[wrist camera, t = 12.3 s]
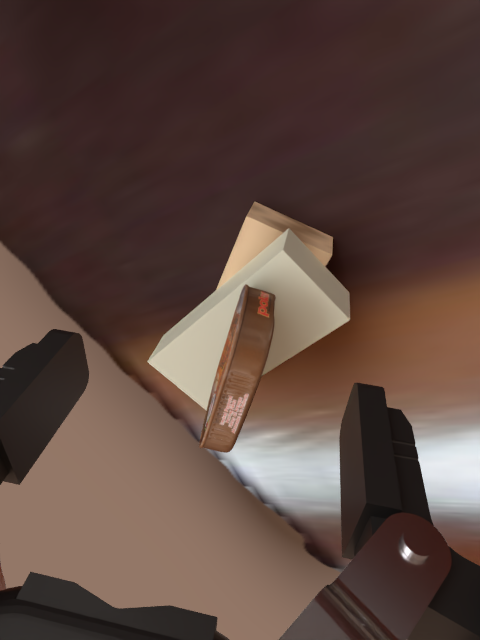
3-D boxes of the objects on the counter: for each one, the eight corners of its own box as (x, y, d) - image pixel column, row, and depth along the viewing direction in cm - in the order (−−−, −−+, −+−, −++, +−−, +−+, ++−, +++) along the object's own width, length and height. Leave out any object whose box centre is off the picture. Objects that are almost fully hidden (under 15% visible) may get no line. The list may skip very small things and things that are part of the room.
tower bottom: (198, 336, 49) (187, 360, 45) (255, 199, 38) (246, 215, 35) (259, 363, 49) (253, 389, 45) (333, 235, 39) (332, 255, 35)
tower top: (163, 335, 44) (147, 361, 40) (289, 228, 34) (282, 249, 31) (217, 381, 46) (206, 410, 42) (349, 292, 37) (350, 319, 33)
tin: (249, 264, 32) (229, 326, 25) (288, 276, 32) (278, 341, 25) (209, 393, 41) (186, 466, 34) (239, 403, 41) (222, 477, 34)
